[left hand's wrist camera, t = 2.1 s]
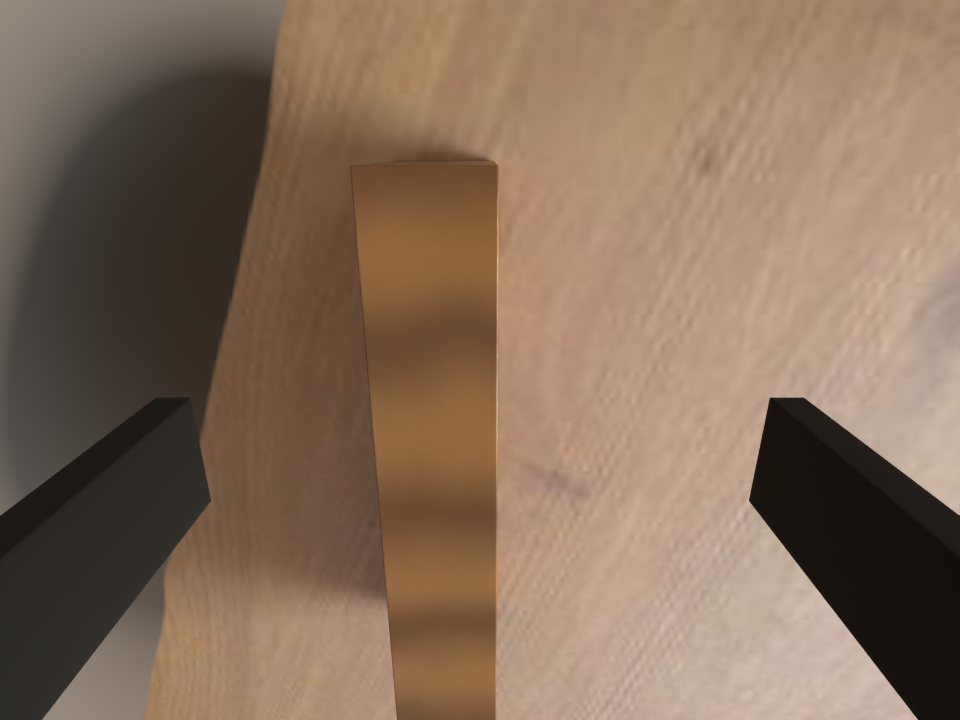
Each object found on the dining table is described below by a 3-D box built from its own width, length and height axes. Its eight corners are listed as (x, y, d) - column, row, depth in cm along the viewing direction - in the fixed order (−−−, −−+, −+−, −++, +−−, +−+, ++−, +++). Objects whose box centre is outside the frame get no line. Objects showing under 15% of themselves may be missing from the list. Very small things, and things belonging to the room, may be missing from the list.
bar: (389, 161, 27) (349, 165, 19) (494, 161, 27) (499, 165, 19) (416, 606, 36) (397, 734, 28) (493, 606, 36) (495, 734, 28)
